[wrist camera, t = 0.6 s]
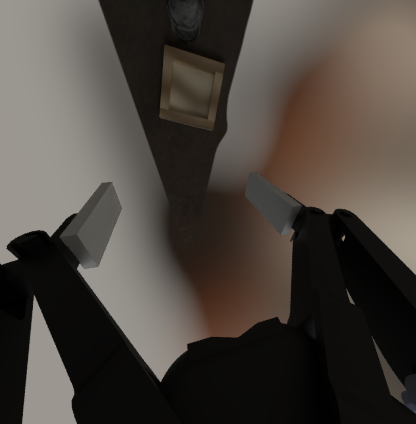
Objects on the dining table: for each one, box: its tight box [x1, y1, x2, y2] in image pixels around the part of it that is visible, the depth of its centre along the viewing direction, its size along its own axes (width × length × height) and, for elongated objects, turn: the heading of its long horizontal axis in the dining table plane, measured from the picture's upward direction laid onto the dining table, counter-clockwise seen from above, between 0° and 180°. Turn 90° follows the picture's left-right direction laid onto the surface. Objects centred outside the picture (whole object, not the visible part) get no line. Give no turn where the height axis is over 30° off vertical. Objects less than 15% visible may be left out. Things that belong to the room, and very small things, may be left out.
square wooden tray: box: [160, 45, 225, 131], centre depth 29 cm, size 11×11×2 cm
